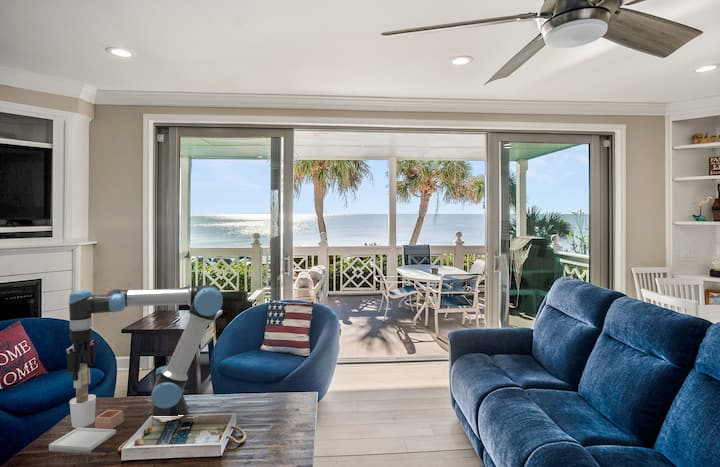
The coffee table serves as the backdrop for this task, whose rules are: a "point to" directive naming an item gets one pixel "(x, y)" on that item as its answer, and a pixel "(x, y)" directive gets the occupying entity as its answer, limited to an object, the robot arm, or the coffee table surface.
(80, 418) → the candle holder
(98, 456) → the coffee table surface
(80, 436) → the off-white tray
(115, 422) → the terracotta square planter
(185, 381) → the robot arm
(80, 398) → the birch dowel
